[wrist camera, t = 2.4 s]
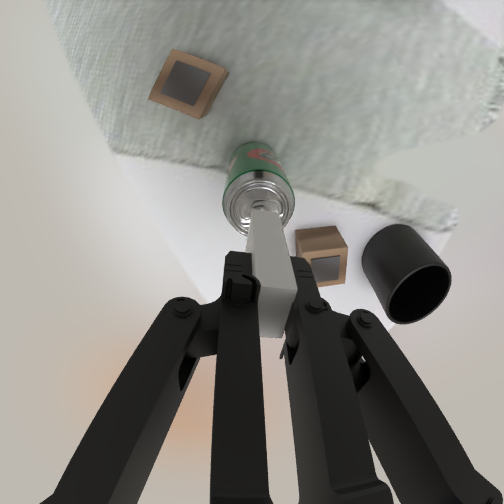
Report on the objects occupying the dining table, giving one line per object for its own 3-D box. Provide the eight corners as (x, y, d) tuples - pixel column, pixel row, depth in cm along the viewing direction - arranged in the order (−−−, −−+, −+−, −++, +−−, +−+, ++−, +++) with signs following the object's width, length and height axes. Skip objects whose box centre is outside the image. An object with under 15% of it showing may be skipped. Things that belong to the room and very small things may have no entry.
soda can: (225, 146, 27) (213, 182, 17) (274, 137, 27) (292, 168, 17) (235, 190, 30) (230, 248, 20) (281, 182, 29) (300, 237, 19)
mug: (363, 299, 39) (382, 345, 32) (358, 233, 33) (387, 277, 26) (415, 282, 38) (441, 323, 31) (420, 216, 32) (457, 253, 24)
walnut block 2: (295, 229, 33) (302, 253, 28) (335, 225, 33) (348, 248, 28) (296, 264, 36) (303, 290, 31) (334, 259, 35) (345, 284, 31)
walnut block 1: (184, 55, 22) (172, 48, 17) (229, 72, 23) (225, 68, 19) (163, 97, 24) (146, 99, 20) (206, 114, 25) (198, 119, 21)
